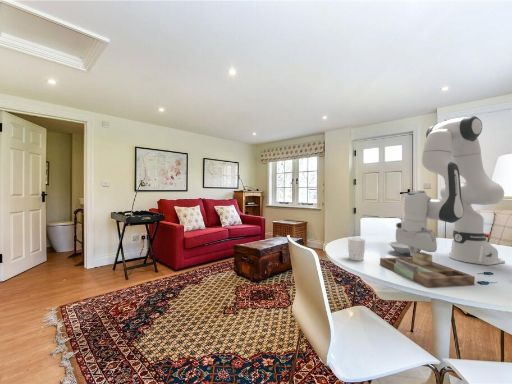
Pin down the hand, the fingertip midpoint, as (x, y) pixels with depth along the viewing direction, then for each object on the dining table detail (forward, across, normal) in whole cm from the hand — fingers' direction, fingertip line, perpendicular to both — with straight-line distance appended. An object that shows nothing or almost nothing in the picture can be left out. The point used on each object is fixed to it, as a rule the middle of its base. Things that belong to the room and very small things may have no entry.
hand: (414, 256), depth 112 cm
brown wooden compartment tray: (+4, -9, +4) cm, 10 cm away
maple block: (+1, -4, 0) cm, 5 cm away
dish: (+5, +21, -12) cm, 24 cm away
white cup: (+5, +14, +20) cm, 25 cm away
